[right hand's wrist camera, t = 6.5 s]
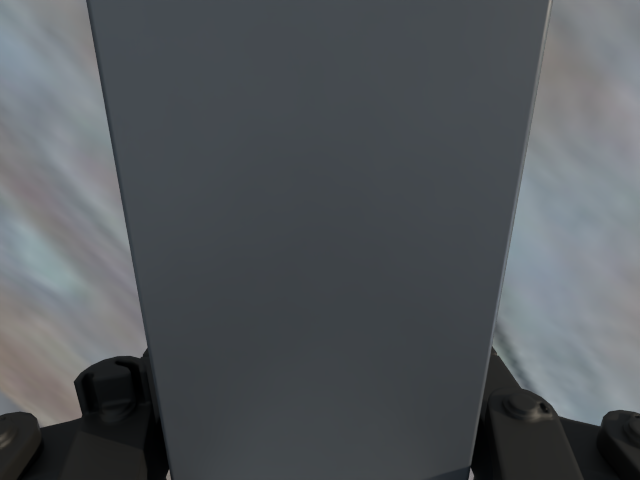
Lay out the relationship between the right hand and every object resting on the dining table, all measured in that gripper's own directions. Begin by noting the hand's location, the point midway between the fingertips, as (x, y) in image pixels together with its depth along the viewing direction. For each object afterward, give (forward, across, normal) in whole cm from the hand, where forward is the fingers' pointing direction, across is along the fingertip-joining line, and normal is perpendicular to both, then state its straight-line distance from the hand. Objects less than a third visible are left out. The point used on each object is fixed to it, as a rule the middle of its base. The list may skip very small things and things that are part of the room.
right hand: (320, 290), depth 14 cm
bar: (+1, 0, -8) cm, 8 cm away
